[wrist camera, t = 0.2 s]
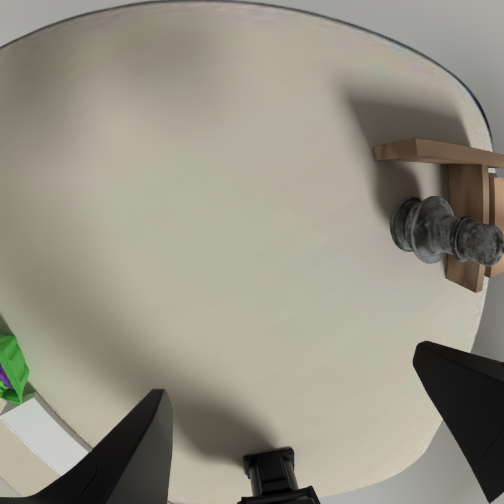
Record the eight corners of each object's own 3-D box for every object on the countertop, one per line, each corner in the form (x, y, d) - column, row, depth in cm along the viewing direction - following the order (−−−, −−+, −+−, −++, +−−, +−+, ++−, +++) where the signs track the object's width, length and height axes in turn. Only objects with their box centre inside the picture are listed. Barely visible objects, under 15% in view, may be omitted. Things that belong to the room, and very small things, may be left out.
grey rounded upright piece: (439, 225, 23) (530, 250, 12) (407, 266, 24) (498, 312, 12) (412, 181, 22) (515, 187, 10) (377, 223, 23) (480, 254, 11)
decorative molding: (43, 379, 26) (9, 399, 23) (33, 397, 21) (-2, 416, 19) (182, 498, 34) (144, 510, 31) (187, 515, 30) (147, 527, 27)
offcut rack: (472, 270, 25) (506, 284, 20) (377, 295, 24) (412, 322, 18) (474, 157, 22) (512, 157, 16) (373, 147, 21) (415, 138, 15)
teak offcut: (494, 265, 22) (506, 270, 20) (477, 272, 21) (490, 278, 20) (497, 177, 19) (510, 178, 17) (479, 176, 19) (494, 177, 17)
